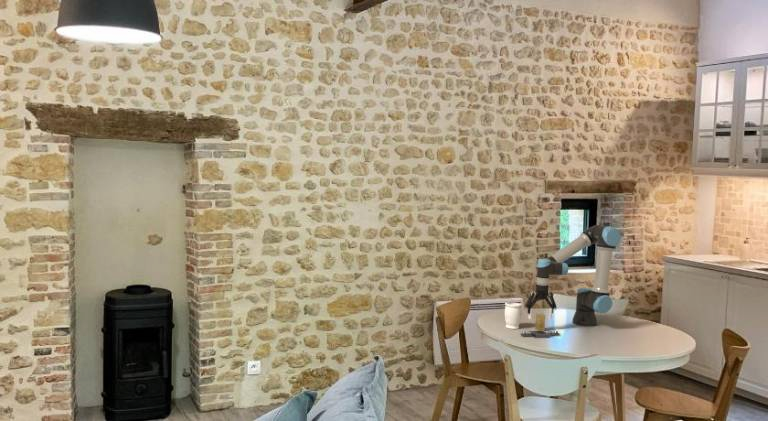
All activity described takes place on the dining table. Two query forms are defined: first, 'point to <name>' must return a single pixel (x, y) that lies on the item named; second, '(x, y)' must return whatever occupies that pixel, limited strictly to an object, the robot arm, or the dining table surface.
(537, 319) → the gold rectangular block
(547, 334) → the knobbed square frame
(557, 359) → the dining table surface
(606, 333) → the dining table surface
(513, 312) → the jar
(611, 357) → the dining table surface
